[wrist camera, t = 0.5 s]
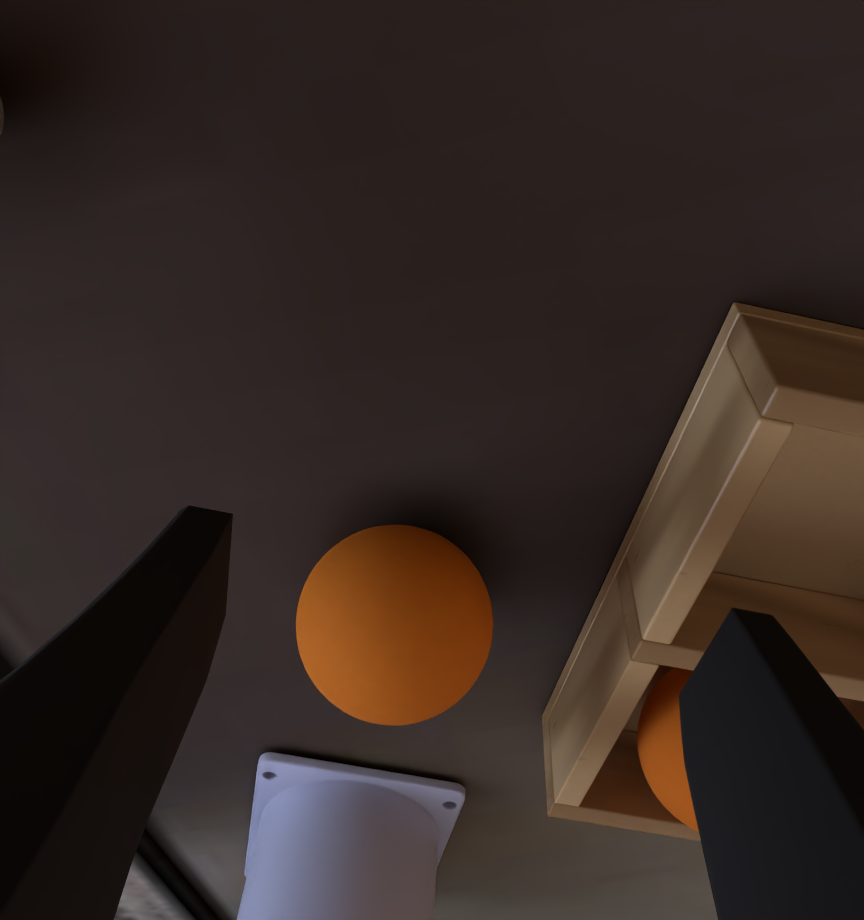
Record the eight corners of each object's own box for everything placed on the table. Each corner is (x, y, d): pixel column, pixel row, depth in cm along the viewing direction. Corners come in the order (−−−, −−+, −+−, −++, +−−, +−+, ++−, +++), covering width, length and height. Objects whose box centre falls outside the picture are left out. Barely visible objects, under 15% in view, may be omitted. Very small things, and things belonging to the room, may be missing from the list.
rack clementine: (751, 734, 28) (796, 889, 24) (604, 708, 28) (624, 861, 24) (824, 635, 25) (891, 793, 21) (660, 604, 25) (695, 759, 20)
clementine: (470, 629, 27) (466, 781, 22) (305, 599, 26) (269, 747, 22) (513, 504, 23) (517, 654, 19) (325, 468, 23) (287, 612, 19)
